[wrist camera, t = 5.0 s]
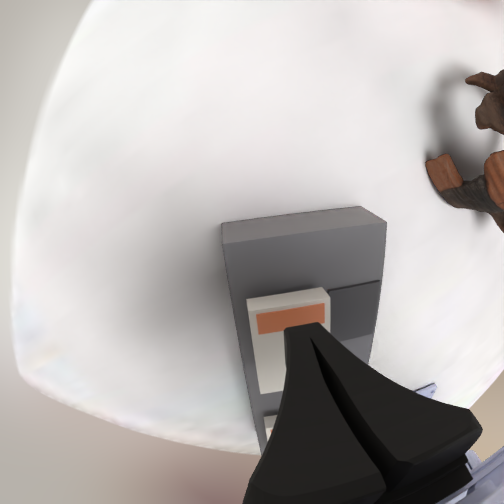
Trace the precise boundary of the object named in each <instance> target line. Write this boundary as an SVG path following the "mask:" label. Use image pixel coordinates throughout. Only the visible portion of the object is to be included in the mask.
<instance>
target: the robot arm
mask: <svg viewBox="0 0 504 504" xmlns="http://www.w3.org/2000/svg"><path fill="white" fill-rule="evenodd" d="M283 331H284V349H285V365H286V375H285V382H284V389H283V394H282V398H281V403H280V407H279V410H278V414H277V417H276V420H275V424H274V427H273V430H272V432H271V435H270V437H269V440H268V442H267V445H266V447H265V450H264V452H263V454H262V456H261V459H260V461H259V463H258V465H257V466H256V469H255V470H254V472H253V474H252V476H251V478H250V480H249V484H248V487H247V490H246V494H245V497H244V500H243V504H504V446H503V447H502V448H500V449H499V450H498V451H497V452H496V453H494V454H493V455H492V456H490V457H489V458H487V459H486V460H485V461H483V462H481V460H480V459H479V457H478V456H477V454H476V453H475V452H474V451H473V450H469V449H470V448H471V446H472V445H473V444H474V443H475V442H476V441H477V439H478V438H479V437H480V435H481V433H482V430H483V429H482V427H481V425H480V424H479V422H478V420H477V419H476V417H475V416H474V415H473V413H472V412H471V411H470V410H469V409H466V408H462V407H457V406H453V405H449V404H445V403H442V402H439V401H436V400H433V399H431V398H432V396H433V394H434V392H435V390H436V388H437V386H436V384H433V385H430V386H428V387H426V388H424V389H421V390H419V391H416V392H414V391H411V390H409V389H407V388H405V387H403V386H401V385H399V384H397V383H395V382H393V381H392V380H390V379H388V378H387V377H385V376H383V375H382V374H380V373H379V372H377V371H376V370H374V369H373V368H371V367H370V366H369V365H367V364H366V363H365V362H363V361H362V360H361V359H359V358H358V357H357V356H356V355H354V354H353V353H352V352H351V351H350V350H348V349H347V348H346V347H345V346H344V345H343V344H341V343H340V342H339V341H338V340H337V339H336V338H335V337H334V336H333V335H332V334H331V333H330V332H328V331H327V330H326V329H325V328H324V327H323V326H322V325H321V324H320V323H319V322H314V323H309V324H303V325H298V326H292V327H286V328H285V329H284V330H283Z"/></svg>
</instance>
